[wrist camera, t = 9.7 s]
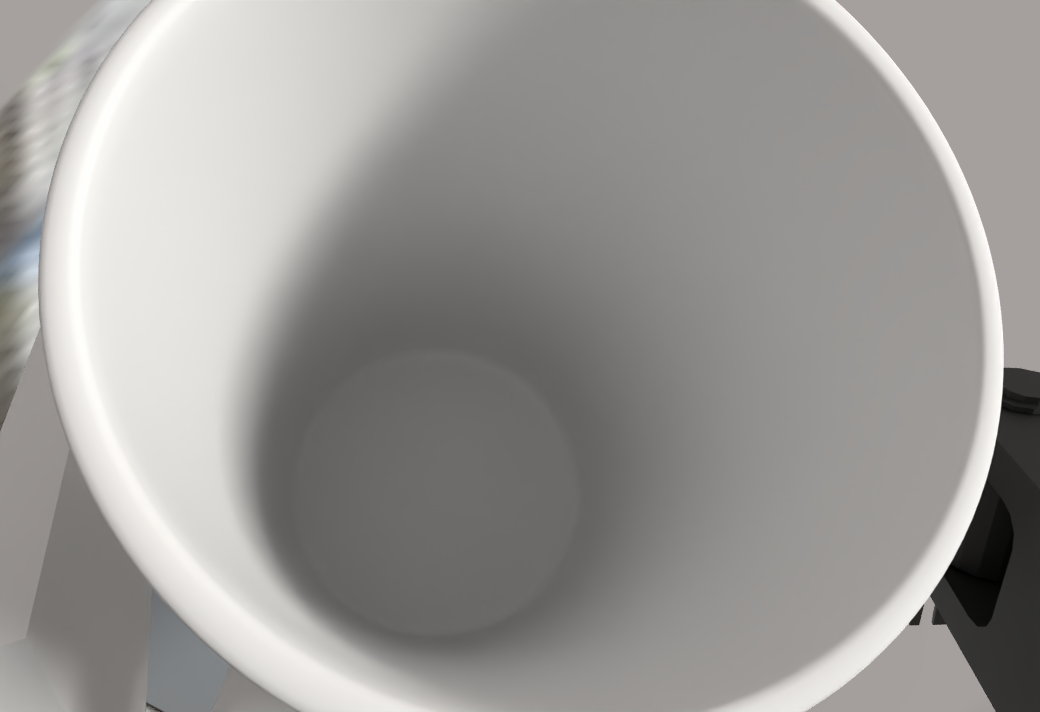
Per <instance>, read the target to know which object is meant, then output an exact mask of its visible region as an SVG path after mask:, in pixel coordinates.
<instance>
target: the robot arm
mask: <svg viewBox="0 0 1040 712" xmlns="http://www.w3.org/2000/svg"><path fill="white" fill-rule="evenodd" d="M930 596H931V598H932V600H933V601H934V603H935V607H934V611H933V618H932V624H933V625H937V624H938V625H941V624H947V626H948V628H949V630H950V632H951V633H952V635H953V637H954V639H955V640H956V642H957V644H958V646H959V647H960V649H961V651H962V653H963V654H964V656H965V658H966V660H967V661H968V663H969V665H970V667H971V669H972V670H973V672H974V674H975V676H976V677H977V679H978V681H979V683H980V684H981V686H982V688H983V690H984V692H985V693H986V695H987V697H988V698H989V700H990V702H991V704H992V706H993V707H994V709H995V711H996V712H1040V373H1039V372H1035V371H1030V370H1025V369H1020V368H1003V390H1002V401H1001V411H1000V419H999V425H998V432H997V437H996V442H995V447H994V452H993V457H992V460H991V464H990V468H989V472H988V476H987V479H986V482H985V485H984V488H983V491H982V495H981V498H980V500H979V503H978V505H977V508H976V511H975V513H974V516H973V518H972V521H971V523H970V525H969V527H968V530H967V532H966V534H965V536H964V539H963V541H962V542H961V544H960V546H959V548H958V550H957V552H956V554H955V556H954V558H953V560H952V561H951V563H950V565H949V567H948V568H947V570H946V572H945V573H944V575H943V577H942V578H941V580H940V581H939V583H938V584H937V586H936V587H935V589H934V590H933V592H932V593H931V595H930ZM930 596H929V597H930ZM151 597H152V588H151V586H150V585H149V584H148V583H147V581H146V580H145V579H144V578H143V577H142V575H141V574H140V573H139V571H138V570H137V569H136V567H135V566H134V564H133V563H132V562H131V560H130V559H129V557H128V556H127V555H126V553H125V552H124V551H123V549H122V548H121V546H120V544H119V543H118V541H117V540H116V538H115V537H114V535H113V533H112V532H111V530H110V529H109V527H108V526H107V524H106V522H105V520H104V519H103V517H102V515H101V513H100V512H99V510H98V508H97V506H96V504H95V503H94V501H93V499H92V497H91V495H90V493H89V491H88V489H87V487H86V485H85V483H84V481H83V479H82V477H81V474H80V472H79V470H78V467H77V465H76V463H75V460H74V458H73V456H72V453H71V451H70V448H69V446H68V443H67V440H66V437H65V434H64V431H63V429H62V426H61V423H60V420H59V416H58V413H57V409H56V406H55V402H54V399H53V395H52V391H51V387H50V382H49V378H48V373H47V369H46V363H45V357H44V351H43V345H42V336H41V327H40V330H39V332H38V335H37V337H36V340H35V343H34V345H33V348H32V350H31V353H30V356H29V358H28V361H27V363H26V366H25V369H24V371H23V374H22V377H21V379H20V382H19V384H18V387H17V390H16V392H15V395H14V397H13V400H12V403H11V405H10V408H9V410H8V413H7V416H6V418H5V421H4V423H3V426H2V429H1V431H0V712H146V695H147V676H148V656H149V636H150V617H151ZM923 607H924V604H923V606H922V607H921V608H920V610H919V611H918V612H917V614H916V615H915V616H914V617H913V619H912V620H911V621H910V622H909V625H919V623H920V619H921V615H922V611H923Z"/></svg>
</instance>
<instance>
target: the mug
mask: <svg viewBox="0 0 1040 712" xmlns="http://www.w3.org/2000/svg"><path fill="white" fill-rule="evenodd" d="M38 296H39V317H40V327H41V336H42V345H43V351H44V357H45V363H46V369H47V373H48V378H49V382H50V387H51V391H52V395H53V399H54V402H55V406H56V409H57V413H58V416H59V420H60V423H61V426H62V429H63V431H64V434H65V437H66V440H67V443H68V446H69V448H70V451H71V453H72V456H73V458H74V460H75V463H76V465H77V467H78V470H79V472H80V474H81V477H82V479H83V481H84V483H85V485H86V487H87V489H88V491H89V493H90V495H91V497H92V499H93V501H94V503H95V504H96V506H97V508H98V510H99V512H100V513H101V515H102V517H103V519H104V520H105V522H106V524H107V526H108V527H109V529H110V530H111V532H112V533H113V535H114V537H115V538H116V540H117V541H118V543H119V544H120V546H121V548H122V549H123V551H124V552H125V553H126V555H127V556H128V557H129V559H130V560H131V562H132V563H133V564H134V566H135V567H136V569H137V570H138V571H139V573H140V574H141V575H142V577H143V578H144V579H145V580H146V581H147V583H148V584H149V585H150V586H151V588H152V589H153V590H154V591H155V593H156V594H157V595H158V596H159V597H160V599H161V600H162V601H163V602H164V603H165V604H166V605H167V606H168V607H169V608H170V610H171V611H172V612H173V613H174V614H175V615H176V616H177V617H178V618H179V619H180V620H181V621H182V622H183V623H184V624H185V625H186V626H187V627H188V628H189V629H190V630H191V631H192V632H193V633H194V634H195V635H196V636H197V637H198V638H199V639H200V640H201V641H202V642H203V643H204V644H205V645H206V646H207V647H209V648H210V649H211V650H212V651H213V652H214V653H215V654H217V655H218V656H219V657H220V658H221V659H222V660H223V661H225V662H226V663H227V664H228V665H229V668H228V671H227V673H226V676H225V679H224V681H223V684H222V687H221V690H220V692H219V695H218V698H217V700H216V703H215V705H214V707H213V709H212V711H211V712H805V711H807V710H809V709H810V708H811V707H813V706H815V705H816V704H818V703H819V702H821V701H822V700H824V699H825V698H827V697H828V696H830V695H831V694H832V693H834V692H835V691H836V690H838V689H839V688H841V687H842V686H843V685H845V684H846V683H847V682H849V681H850V680H851V679H852V678H853V677H855V676H856V675H857V674H858V673H859V672H860V671H862V670H863V669H864V668H865V667H867V666H868V665H869V664H870V663H871V662H872V661H873V660H874V659H875V658H876V657H877V656H878V655H879V654H880V653H881V652H883V651H884V650H885V649H886V647H887V646H888V645H889V644H890V643H891V642H892V641H893V640H894V639H895V638H896V637H897V636H898V635H899V634H900V633H901V632H902V630H903V629H904V628H905V627H906V626H907V624H908V623H909V622H910V621H911V620H912V619H913V617H914V616H915V615H916V614H917V612H918V611H919V610H920V608H921V607H922V606H923V604H924V603H925V602H926V600H927V599H928V598H929V596H930V595H931V593H932V592H933V590H934V589H935V587H936V586H937V584H938V583H939V581H940V580H941V578H942V577H943V575H944V573H945V572H946V570H947V568H948V567H949V565H950V563H951V561H952V560H953V558H954V556H955V554H956V552H957V550H958V548H959V546H960V544H961V542H962V541H963V539H964V536H965V534H966V532H967V530H968V527H969V525H970V523H971V521H972V518H973V516H974V513H975V511H976V508H977V505H978V503H979V500H980V498H981V495H982V491H983V488H984V485H985V482H986V479H987V476H988V472H989V468H990V464H991V460H992V457H993V452H994V447H995V442H996V437H997V432H998V425H999V419H1000V411H1001V401H1002V390H1003V329H1002V319H1001V308H1000V301H999V294H998V288H997V282H996V277H995V272H994V267H993V262H992V258H991V254H990V249H989V246H988V242H987V239H986V235H985V232H984V228H983V225H982V222H981V219H980V216H979V213H978V210H977V208H976V205H975V202H974V199H973V197H972V194H971V192H970V189H969V187H968V185H967V182H966V180H965V177H964V175H963V173H962V171H961V169H960V167H959V164H958V162H957V160H956V158H955V156H954V154H953V152H952V150H951V149H950V146H949V145H948V143H947V141H946V139H945V137H944V135H943V134H942V132H941V130H940V128H939V127H938V125H937V123H936V121H935V120H934V118H933V117H932V115H931V113H930V112H929V110H928V109H927V107H926V106H925V104H924V103H923V101H922V100H921V98H920V97H919V95H918V94H917V92H916V91H915V89H914V88H913V86H912V85H911V84H910V82H909V81H908V80H907V78H906V77H905V76H904V74H903V73H902V72H901V70H900V69H899V68H898V67H897V65H896V64H895V63H894V62H893V60H892V59H891V58H890V57H889V56H888V54H887V53H886V52H885V51H884V50H883V49H882V47H881V46H880V45H879V44H878V43H877V42H876V41H875V40H874V39H873V37H871V35H870V34H869V33H868V32H867V31H866V30H865V29H864V28H863V27H862V26H861V25H860V24H859V23H858V22H857V21H856V20H855V19H854V18H853V17H852V16H851V15H850V14H849V13H848V12H847V11H846V10H845V9H844V8H843V7H842V6H841V5H840V4H839V3H837V2H836V1H835V0H152V1H151V2H150V3H149V4H148V5H147V6H146V7H145V8H144V9H143V10H142V11H141V12H140V14H139V15H138V16H137V17H136V18H135V19H134V21H133V22H132V23H131V24H130V25H129V27H128V28H127V29H126V30H125V32H124V33H123V34H122V36H121V37H120V38H119V40H118V41H117V42H116V44H115V45H114V46H113V48H112V49H111V51H110V52H109V54H108V55H107V57H106V58H105V60H104V61H103V63H102V64H101V66H100V67H99V69H98V71H97V72H96V74H95V76H94V77H93V79H92V81H91V82H90V84H89V86H88V88H87V90H86V92H85V94H84V96H83V98H82V100H81V101H80V103H79V105H78V108H77V110H76V112H75V114H74V117H73V119H72V121H71V123H70V126H69V128H68V131H67V133H66V136H65V139H64V141H63V144H62V146H61V149H60V153H59V156H58V159H57V162H56V165H55V168H54V172H53V176H52V180H51V184H50V188H49V192H48V197H47V202H46V207H45V212H44V218H43V225H42V233H41V241H40V254H39V277H38Z"/></svg>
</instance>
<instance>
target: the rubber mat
mask: <svg viewBox="0 0 1040 712" xmlns="http://www.w3.org/2000/svg"><path fill="white" fill-rule="evenodd" d="M228 668H229V665H228V664H227V663H226V662H225V661H223V660H222V659H221V658H220V657H219V656H218V655H217V654H215V653H214V652H213V651H212V650H211V649H210V648H209V647H207V646H206V645H205V644H204V643H203V642H202V641H201V640H200V639H199V638H198V637H197V636H196V635H195V634H194V633H193V632H192V631H191V630H190V629H189V628H188V627H187V626H186V625H185V624H184V623H183V622H182V621H181V620H180V619H179V618H178V617H177V616H176V615H175V614H174V613H173V612H172V611H171V610H170V608H169V607H168V606H167V605H166V604H165V603H164V602H163V601H162V600H161V599H160V597H159V596H158V595H157V594H156V593H155V591H154V590H153V589H152V597H151V617H150V636H149V656H148V676H147V695H146V702H147V703H149V704H151V705H152V706H154V707H156V708H158V709H160V710H162V711H164V712H211V711H212V709H213V707H214V705H215V703H216V700H217V698H218V695H219V692H220V690H221V687H222V684H223V681H224V679H225V676H226V673H227V671H228Z"/></svg>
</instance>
